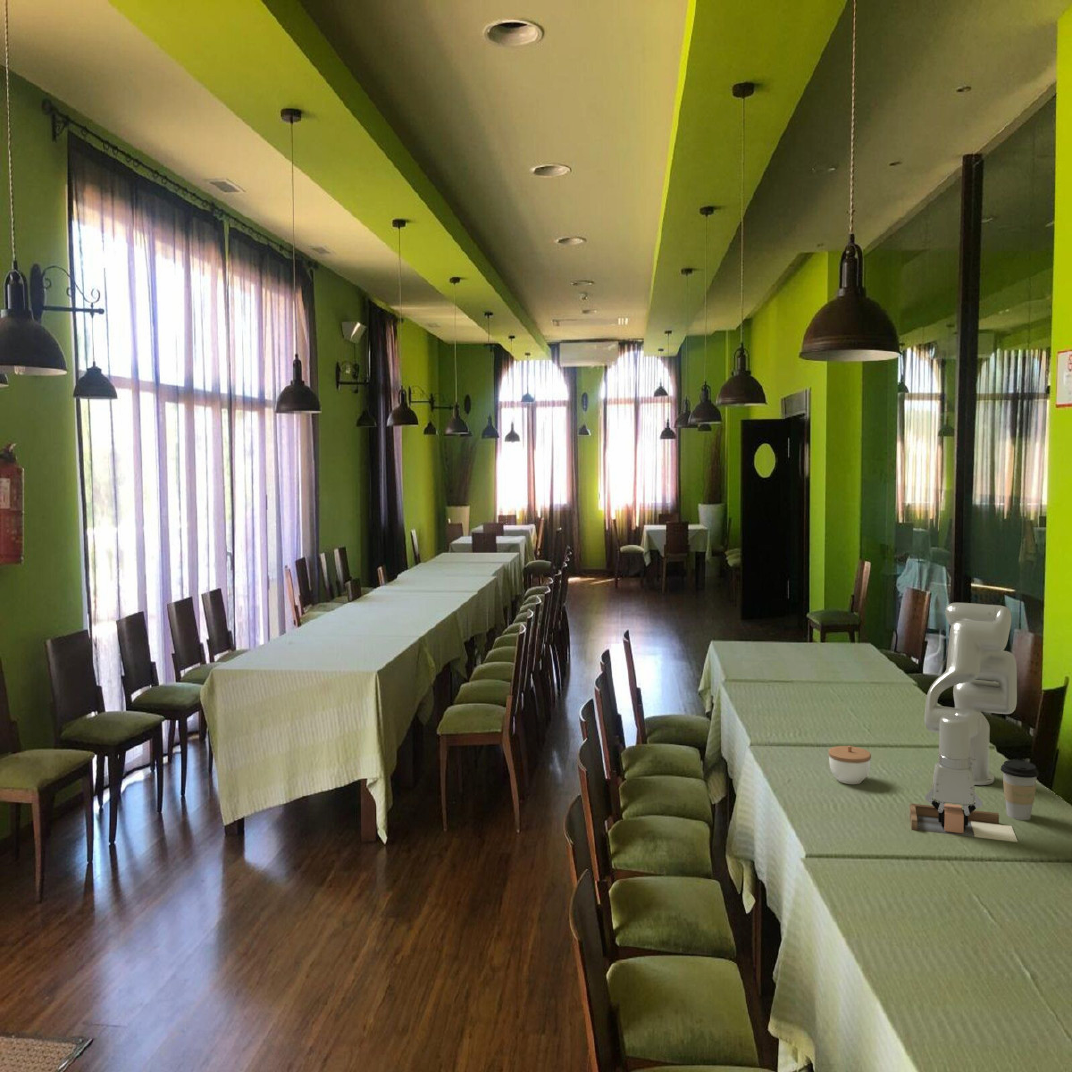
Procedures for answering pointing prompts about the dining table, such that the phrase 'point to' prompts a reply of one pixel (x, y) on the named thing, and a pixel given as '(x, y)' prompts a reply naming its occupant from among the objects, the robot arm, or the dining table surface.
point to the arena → (928, 821)
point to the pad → (993, 831)
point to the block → (953, 818)
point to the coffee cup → (1019, 788)
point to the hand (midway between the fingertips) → (952, 825)
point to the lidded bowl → (849, 763)
